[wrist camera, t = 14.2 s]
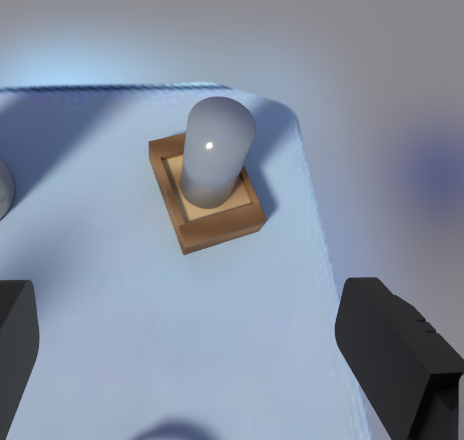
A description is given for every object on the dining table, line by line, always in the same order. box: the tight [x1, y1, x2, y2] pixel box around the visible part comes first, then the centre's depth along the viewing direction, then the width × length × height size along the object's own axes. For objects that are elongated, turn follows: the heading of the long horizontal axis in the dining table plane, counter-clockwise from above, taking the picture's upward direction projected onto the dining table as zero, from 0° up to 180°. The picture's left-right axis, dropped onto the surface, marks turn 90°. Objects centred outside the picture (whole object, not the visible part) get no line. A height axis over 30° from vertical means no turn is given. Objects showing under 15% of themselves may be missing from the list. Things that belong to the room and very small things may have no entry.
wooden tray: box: [149, 133, 267, 255], centre depth 44 cm, size 12×9×4 cm
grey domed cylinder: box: [180, 97, 256, 209], centre depth 38 cm, size 6×6×11 cm
